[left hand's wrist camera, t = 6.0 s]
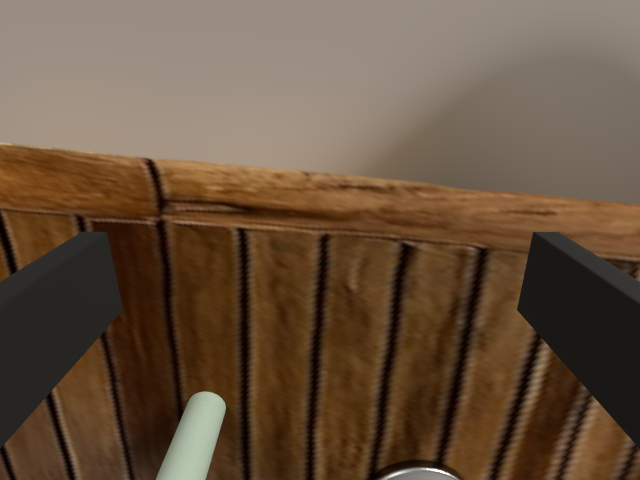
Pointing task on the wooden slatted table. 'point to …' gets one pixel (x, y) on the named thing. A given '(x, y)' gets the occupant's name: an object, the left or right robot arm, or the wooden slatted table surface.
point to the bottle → (194, 439)
